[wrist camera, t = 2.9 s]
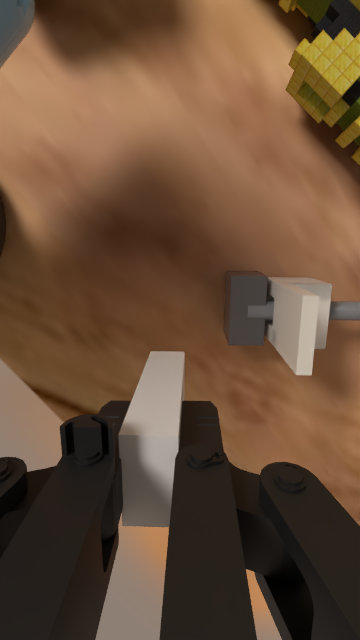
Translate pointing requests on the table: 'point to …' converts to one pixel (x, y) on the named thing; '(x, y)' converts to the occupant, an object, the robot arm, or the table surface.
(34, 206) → the table surface
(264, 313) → the rail
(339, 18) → the toy
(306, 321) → the cream l-shaped block
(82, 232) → the table surface
